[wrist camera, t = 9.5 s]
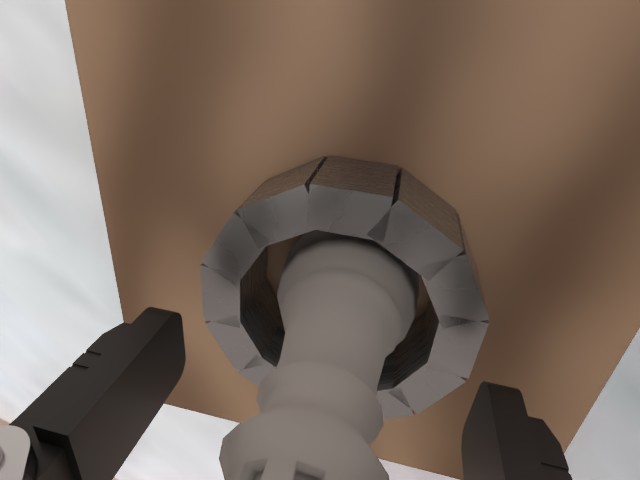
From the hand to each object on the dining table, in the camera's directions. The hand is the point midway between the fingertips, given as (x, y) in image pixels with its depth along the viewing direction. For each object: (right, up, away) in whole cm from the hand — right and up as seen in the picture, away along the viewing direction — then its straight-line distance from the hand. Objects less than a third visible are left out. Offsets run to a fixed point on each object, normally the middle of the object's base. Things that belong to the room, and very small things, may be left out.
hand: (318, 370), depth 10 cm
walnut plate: (+1, +3, +5) cm, 6 cm away
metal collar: (+1, +2, +4) cm, 4 cm away
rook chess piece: (+1, +2, +4) cm, 5 cm away
